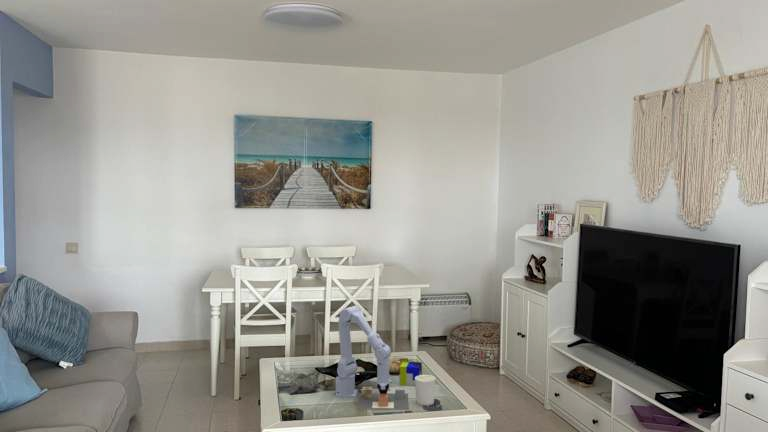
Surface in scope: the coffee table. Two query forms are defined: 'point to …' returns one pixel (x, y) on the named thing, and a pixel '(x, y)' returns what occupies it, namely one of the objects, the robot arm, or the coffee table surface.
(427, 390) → the candle holder
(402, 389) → the slate block
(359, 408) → the mat
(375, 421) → the coffee table surface
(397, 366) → the nautilus
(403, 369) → the puzzle toy
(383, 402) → the terracotta block
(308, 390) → the mineral rock
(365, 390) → the beech block
